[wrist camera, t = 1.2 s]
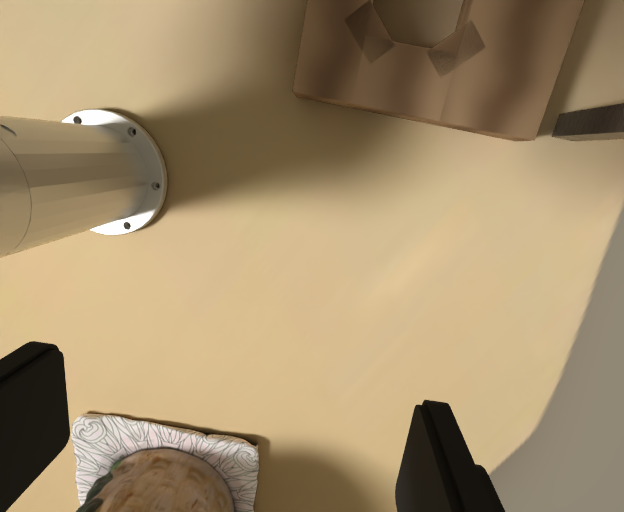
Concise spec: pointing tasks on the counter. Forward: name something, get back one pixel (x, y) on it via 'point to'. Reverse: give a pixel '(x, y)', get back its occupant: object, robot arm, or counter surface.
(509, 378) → the counter surface
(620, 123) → the small grey stool
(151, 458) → the cookie jar
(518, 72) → the socket block
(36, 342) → the robot arm
